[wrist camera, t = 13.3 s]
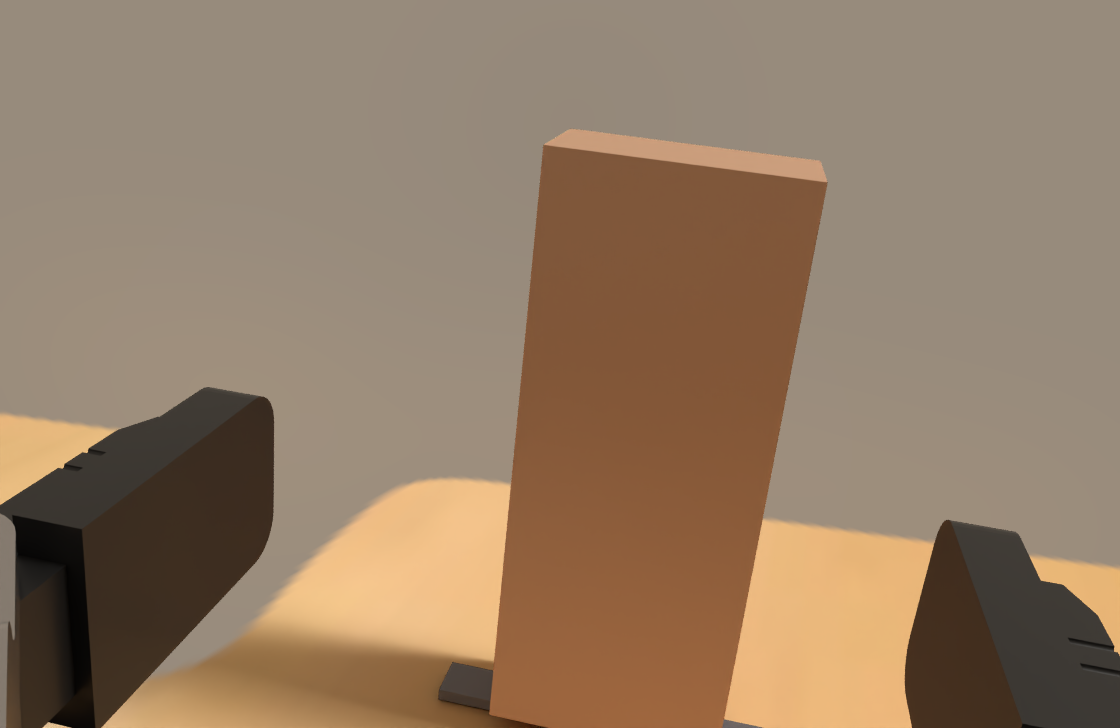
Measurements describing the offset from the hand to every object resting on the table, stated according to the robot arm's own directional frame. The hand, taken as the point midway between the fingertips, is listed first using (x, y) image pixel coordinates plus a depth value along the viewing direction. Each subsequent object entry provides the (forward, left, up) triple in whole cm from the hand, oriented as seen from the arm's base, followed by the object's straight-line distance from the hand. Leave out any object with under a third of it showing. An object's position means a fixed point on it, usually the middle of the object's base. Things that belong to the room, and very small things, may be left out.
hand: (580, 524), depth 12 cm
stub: (-9, -7, -12) cm, 16 cm away
